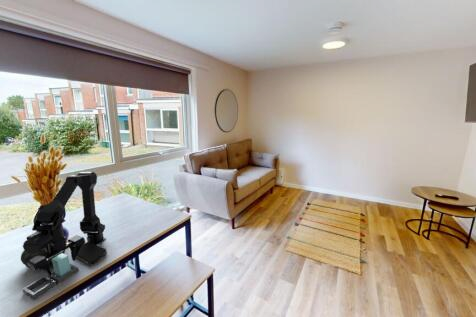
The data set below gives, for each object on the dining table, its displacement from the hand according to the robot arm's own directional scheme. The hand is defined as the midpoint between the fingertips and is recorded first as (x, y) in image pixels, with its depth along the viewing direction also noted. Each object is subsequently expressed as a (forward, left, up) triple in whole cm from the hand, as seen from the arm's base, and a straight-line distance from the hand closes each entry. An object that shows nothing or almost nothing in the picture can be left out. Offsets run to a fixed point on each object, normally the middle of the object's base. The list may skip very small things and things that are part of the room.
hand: (62, 267), depth 91 cm
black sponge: (-12, -1, -4) cm, 13 cm away
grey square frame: (0, 0, -4) cm, 4 cm away
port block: (+9, 0, -4) cm, 9 cm away
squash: (-1, -15, -4) cm, 16 cm away
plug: (0, 0, -4) cm, 4 cm away
